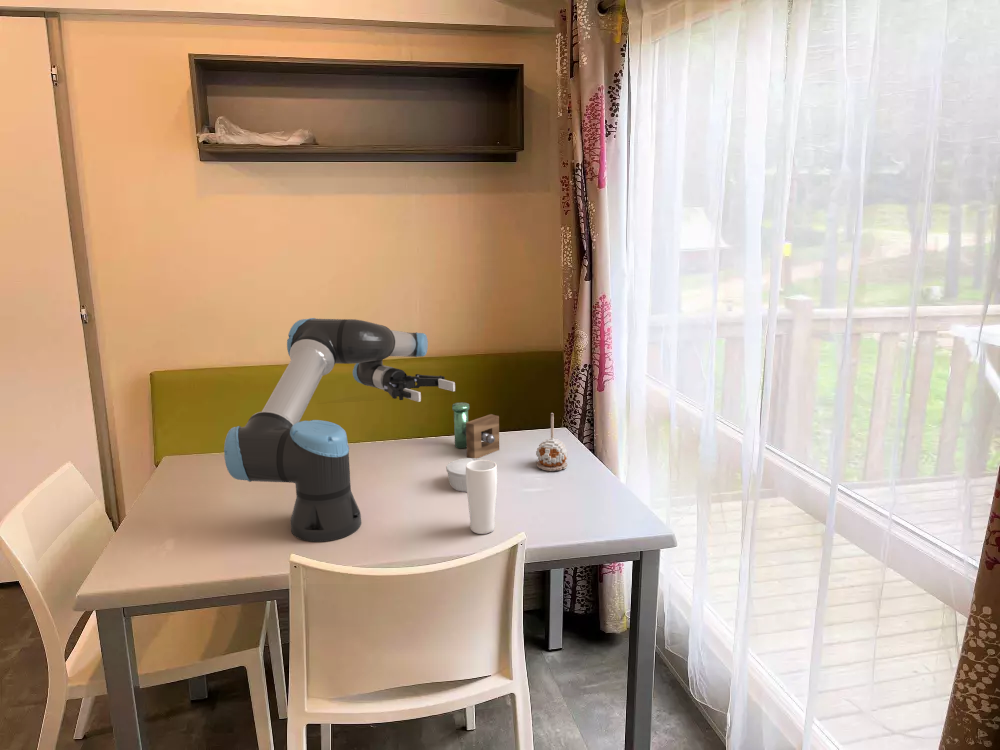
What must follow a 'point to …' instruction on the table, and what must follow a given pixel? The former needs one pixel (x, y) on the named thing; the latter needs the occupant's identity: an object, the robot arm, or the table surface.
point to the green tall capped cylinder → (460, 426)
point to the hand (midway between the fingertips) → (437, 391)
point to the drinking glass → (481, 495)
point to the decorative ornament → (552, 452)
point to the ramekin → (458, 473)
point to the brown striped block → (474, 436)
